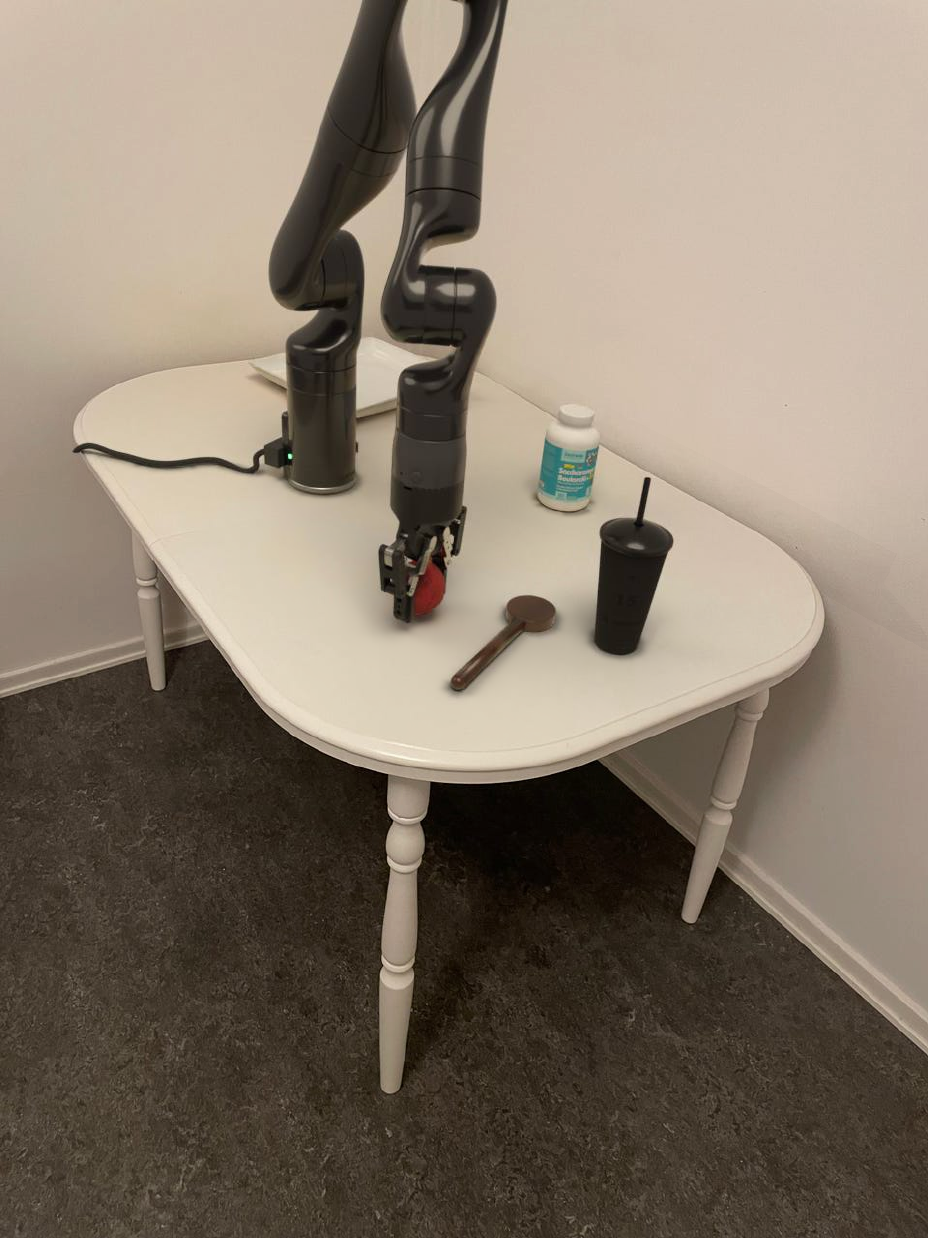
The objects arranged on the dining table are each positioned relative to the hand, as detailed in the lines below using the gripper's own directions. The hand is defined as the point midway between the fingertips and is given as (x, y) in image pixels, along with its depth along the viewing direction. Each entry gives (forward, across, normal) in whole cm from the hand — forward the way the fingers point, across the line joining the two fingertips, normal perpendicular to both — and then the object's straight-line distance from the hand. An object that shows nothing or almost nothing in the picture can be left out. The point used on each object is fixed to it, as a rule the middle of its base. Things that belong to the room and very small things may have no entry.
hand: (419, 606), depth 107 cm
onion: (+2, 0, -1) cm, 2 cm away
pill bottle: (+2, -37, 0) cm, 37 cm away
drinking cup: (+2, -9, +20) cm, 22 cm away
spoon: (+1, 0, +10) cm, 10 cm away
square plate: (+2, -53, -47) cm, 71 cm away
